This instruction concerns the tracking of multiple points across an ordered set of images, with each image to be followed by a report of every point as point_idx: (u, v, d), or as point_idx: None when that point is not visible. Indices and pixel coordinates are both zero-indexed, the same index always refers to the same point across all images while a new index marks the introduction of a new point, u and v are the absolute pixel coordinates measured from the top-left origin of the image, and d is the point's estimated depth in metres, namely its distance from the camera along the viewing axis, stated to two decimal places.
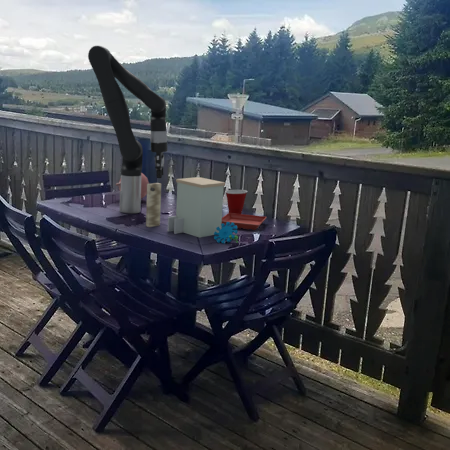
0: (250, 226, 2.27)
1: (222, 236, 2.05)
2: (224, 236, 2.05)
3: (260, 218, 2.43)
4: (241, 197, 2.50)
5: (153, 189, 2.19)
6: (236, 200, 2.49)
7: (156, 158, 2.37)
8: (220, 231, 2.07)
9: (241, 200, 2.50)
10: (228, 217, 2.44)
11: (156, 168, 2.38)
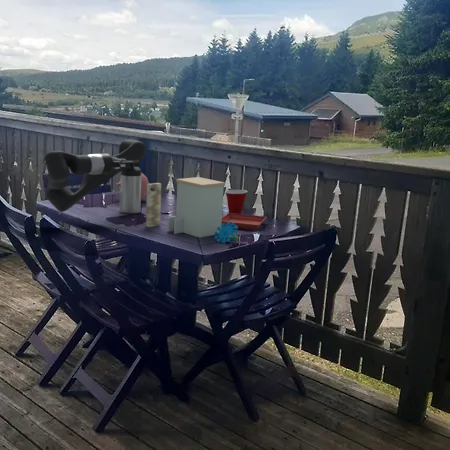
0: (250, 226, 2.27)
1: (222, 236, 2.05)
2: (224, 236, 2.05)
3: (260, 218, 2.43)
4: (241, 197, 2.50)
5: (153, 189, 2.19)
6: (236, 200, 2.49)
7: (124, 167, 2.00)
8: (220, 231, 2.07)
9: (241, 200, 2.50)
10: (228, 217, 2.44)
11: (133, 167, 2.03)
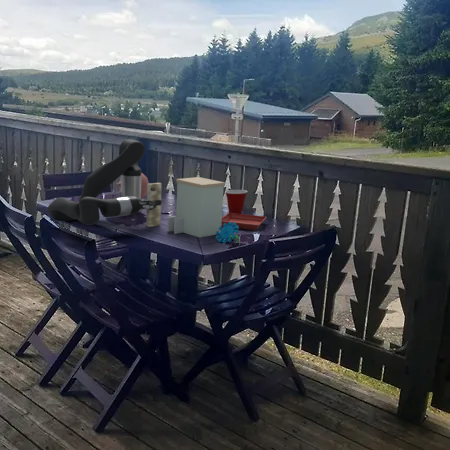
0: (250, 226, 2.27)
1: (223, 236, 2.06)
2: (225, 236, 2.05)
3: (260, 218, 2.43)
4: (241, 197, 2.50)
5: (153, 189, 2.19)
6: (236, 200, 2.49)
7: (152, 208, 2.15)
8: (221, 231, 2.08)
9: (241, 200, 2.50)
10: (228, 217, 2.44)
11: None
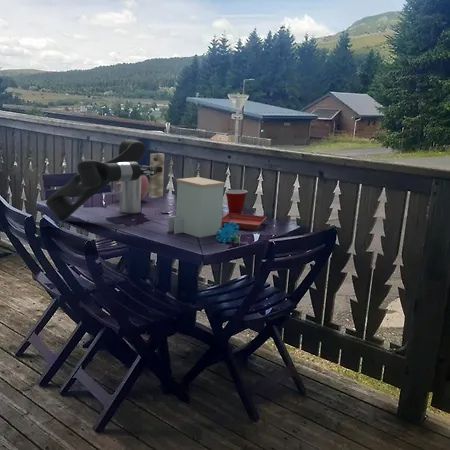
0: (250, 226, 2.27)
1: (224, 236, 2.06)
2: (225, 236, 2.05)
3: (260, 218, 2.43)
4: (241, 197, 2.50)
5: (156, 159, 2.17)
6: (236, 200, 2.49)
7: (153, 173, 2.12)
8: (222, 231, 2.08)
9: (241, 200, 2.50)
10: (228, 217, 2.44)
11: (157, 172, 2.16)
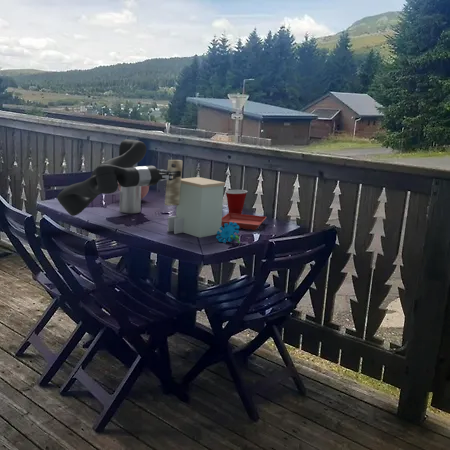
0: (250, 226, 2.27)
1: (224, 236, 2.06)
2: (226, 236, 2.05)
3: (260, 218, 2.43)
4: (241, 197, 2.50)
5: (174, 165, 2.08)
6: (236, 200, 2.49)
7: (172, 178, 2.03)
8: (222, 231, 2.08)
9: (241, 200, 2.50)
10: (228, 217, 2.44)
11: None
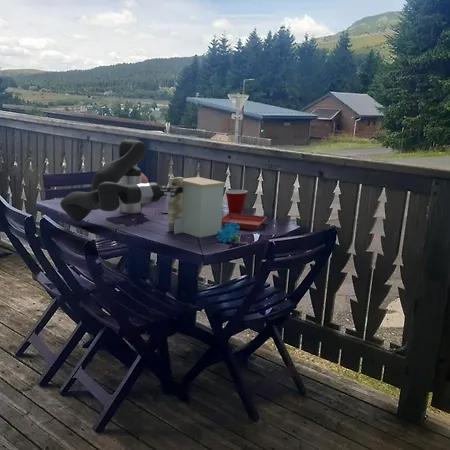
0: (250, 226, 2.27)
1: (224, 236, 2.06)
2: (226, 236, 2.05)
3: (260, 218, 2.43)
4: (241, 197, 2.50)
5: (175, 184, 2.09)
6: (236, 200, 2.49)
7: (174, 195, 2.04)
8: (223, 231, 2.08)
9: (241, 200, 2.50)
10: (228, 217, 2.44)
11: (177, 193, 2.09)
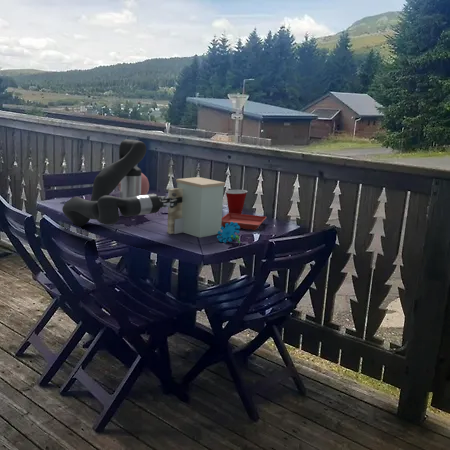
0: (250, 226, 2.27)
1: (224, 236, 2.06)
2: (226, 236, 2.06)
3: (260, 218, 2.43)
4: (241, 197, 2.50)
5: (175, 194, 2.10)
6: (236, 200, 2.49)
7: (173, 205, 2.05)
8: (223, 231, 2.08)
9: (241, 200, 2.50)
10: (228, 217, 2.44)
11: None
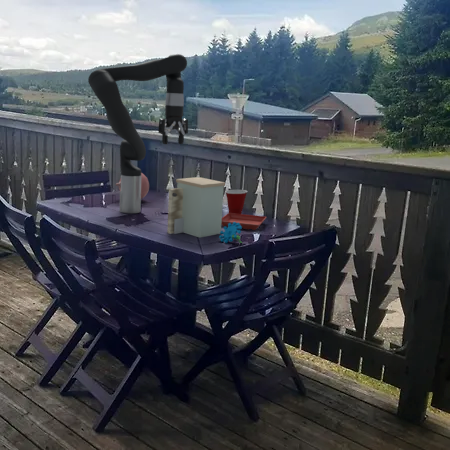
0: (251, 226, 2.27)
1: (226, 235, 2.07)
2: (228, 235, 2.06)
3: (260, 218, 2.43)
4: (241, 197, 2.50)
5: (175, 194, 2.10)
6: (236, 200, 2.49)
7: None
8: (225, 231, 2.09)
9: (241, 200, 2.50)
10: (228, 217, 2.44)
11: (187, 132, 2.28)
